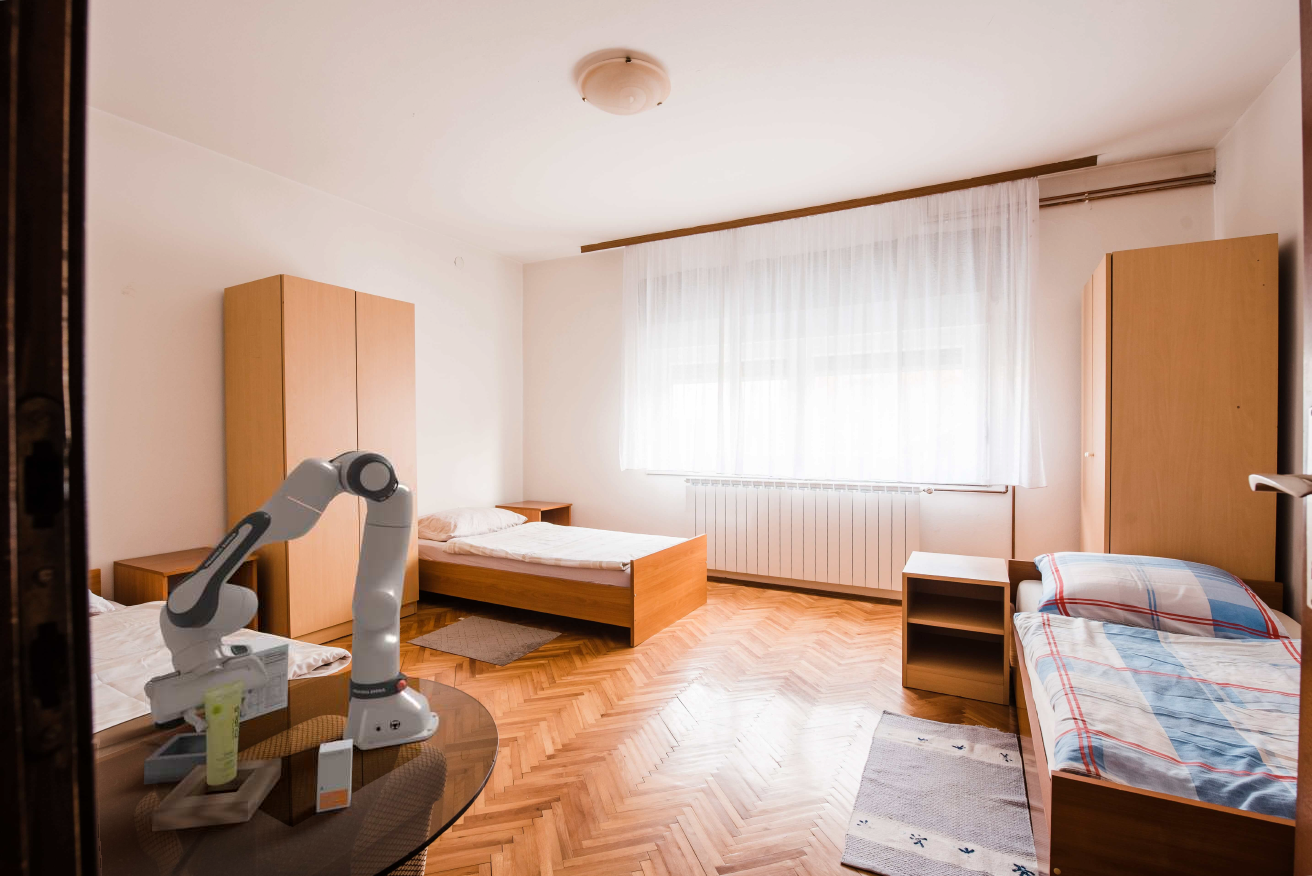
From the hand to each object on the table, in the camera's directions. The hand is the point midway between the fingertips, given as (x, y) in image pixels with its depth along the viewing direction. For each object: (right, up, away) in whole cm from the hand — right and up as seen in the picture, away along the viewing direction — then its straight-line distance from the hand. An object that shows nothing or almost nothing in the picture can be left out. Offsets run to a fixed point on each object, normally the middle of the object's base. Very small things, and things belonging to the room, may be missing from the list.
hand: (224, 722), depth 122 cm
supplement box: (-23, -17, +42) cm, 51 cm away
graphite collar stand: (-17, -16, +13) cm, 27 cm away
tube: (-1, -12, 0) cm, 12 cm away
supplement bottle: (-38, -16, +33) cm, 53 cm away
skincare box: (+23, -17, 0) cm, 28 cm away
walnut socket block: (-1, -16, 0) cm, 16 cm away
